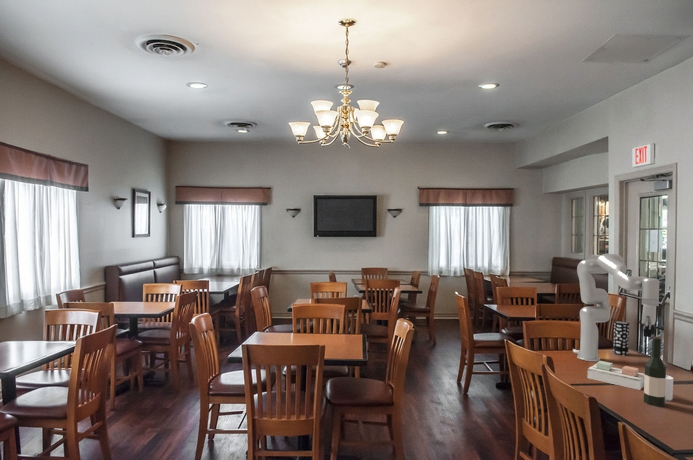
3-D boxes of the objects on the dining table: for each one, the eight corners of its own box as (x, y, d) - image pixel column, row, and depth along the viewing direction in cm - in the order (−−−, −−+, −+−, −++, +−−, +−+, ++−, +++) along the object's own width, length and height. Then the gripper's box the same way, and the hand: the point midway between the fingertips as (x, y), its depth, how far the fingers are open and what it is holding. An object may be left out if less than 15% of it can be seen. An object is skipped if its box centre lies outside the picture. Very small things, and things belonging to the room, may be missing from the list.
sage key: (596, 368, 253) (596, 362, 253) (599, 366, 258) (600, 360, 258) (608, 371, 249) (609, 365, 249) (612, 368, 254) (612, 363, 254)
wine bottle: (662, 401, 221) (664, 336, 221) (667, 407, 213) (670, 339, 213) (641, 398, 224) (643, 334, 223) (645, 404, 216) (648, 337, 215)
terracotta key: (621, 373, 245) (622, 368, 245) (625, 371, 250) (625, 365, 250) (635, 376, 241) (635, 370, 241) (638, 374, 245) (638, 368, 245)
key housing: (587, 378, 253) (587, 368, 253) (595, 372, 263) (596, 363, 263) (639, 390, 236) (640, 379, 236) (646, 383, 246) (646, 374, 246)
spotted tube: (624, 352, 310) (625, 321, 310) (630, 356, 302) (631, 324, 302) (610, 351, 311) (611, 320, 311) (616, 355, 303) (617, 323, 302)
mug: (674, 401, 221) (675, 380, 221) (652, 398, 225) (653, 377, 224) (668, 393, 232) (669, 373, 232) (647, 390, 236) (648, 370, 236)
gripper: (644, 299, 259) (643, 331, 259) (638, 302, 246) (637, 336, 246) (661, 301, 254) (660, 334, 254) (655, 304, 241) (654, 339, 241)
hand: (649, 335), depth 250 cm, fingers open, 9 cm apart
